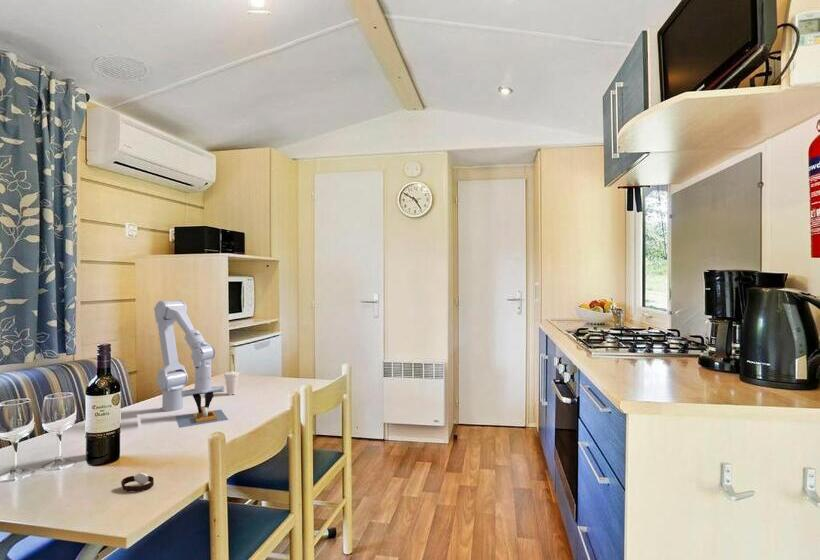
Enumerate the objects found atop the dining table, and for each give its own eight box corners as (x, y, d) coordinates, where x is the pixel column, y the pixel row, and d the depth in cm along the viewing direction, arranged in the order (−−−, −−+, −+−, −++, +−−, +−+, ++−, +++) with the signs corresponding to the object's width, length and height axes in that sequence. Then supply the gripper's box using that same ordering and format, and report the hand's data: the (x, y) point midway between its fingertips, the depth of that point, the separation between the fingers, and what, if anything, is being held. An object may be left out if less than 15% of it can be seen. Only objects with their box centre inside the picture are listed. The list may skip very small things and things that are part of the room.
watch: (158, 484, 112) (158, 470, 112) (146, 493, 107) (146, 478, 107) (128, 484, 112) (128, 469, 112) (115, 493, 107) (115, 478, 107)
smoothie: (233, 396, 196) (233, 365, 196) (221, 395, 197) (221, 364, 197) (242, 392, 202) (242, 362, 202) (229, 392, 204) (229, 362, 204)
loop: (217, 419, 160) (217, 413, 160) (196, 423, 156) (196, 416, 156) (211, 411, 170) (211, 405, 170) (191, 414, 166) (192, 407, 166)
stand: (175, 418, 164) (175, 405, 164) (221, 412, 173) (221, 399, 173) (179, 430, 151) (179, 416, 151) (228, 422, 160) (228, 408, 160)
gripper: (182, 381, 159) (182, 419, 159) (225, 377, 167) (225, 412, 167) (180, 378, 165) (180, 414, 165) (222, 373, 172) (221, 408, 172)
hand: (202, 413), depth 166 cm, fingers closed on loop, 2 cm apart
